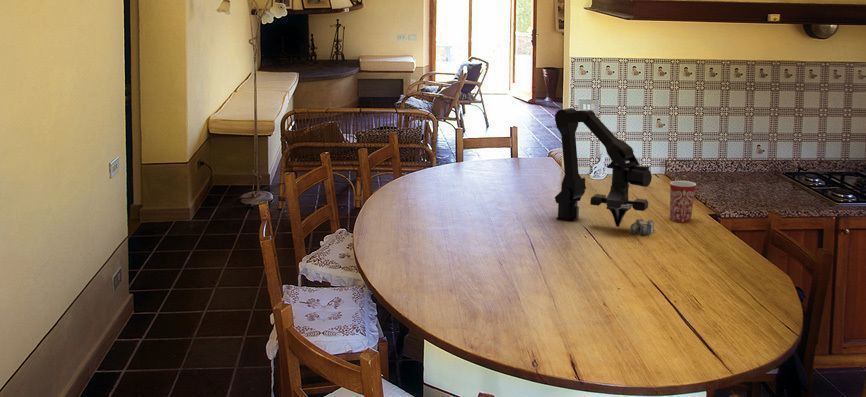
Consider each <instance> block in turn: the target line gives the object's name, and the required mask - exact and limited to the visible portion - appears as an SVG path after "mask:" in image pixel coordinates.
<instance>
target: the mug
mask: <svg viewBox="0 0 866 397" xmlns="http://www.w3.org/2000/svg"><path fill="white" fill-rule="evenodd" d="M669 186H670V187H669V188H670V190H669V191H670V192H669V193H670V194H669V195H670V196H669V198H670V199H669V200H670V201H669V220H670V221H672V222H675V223H689V222H691V221H692V214H693V206H694V201H695V194H696V192H695V191H696V186H697V183H696V182H693V181H689V180H672V181H670V182H669Z"/></svg>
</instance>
